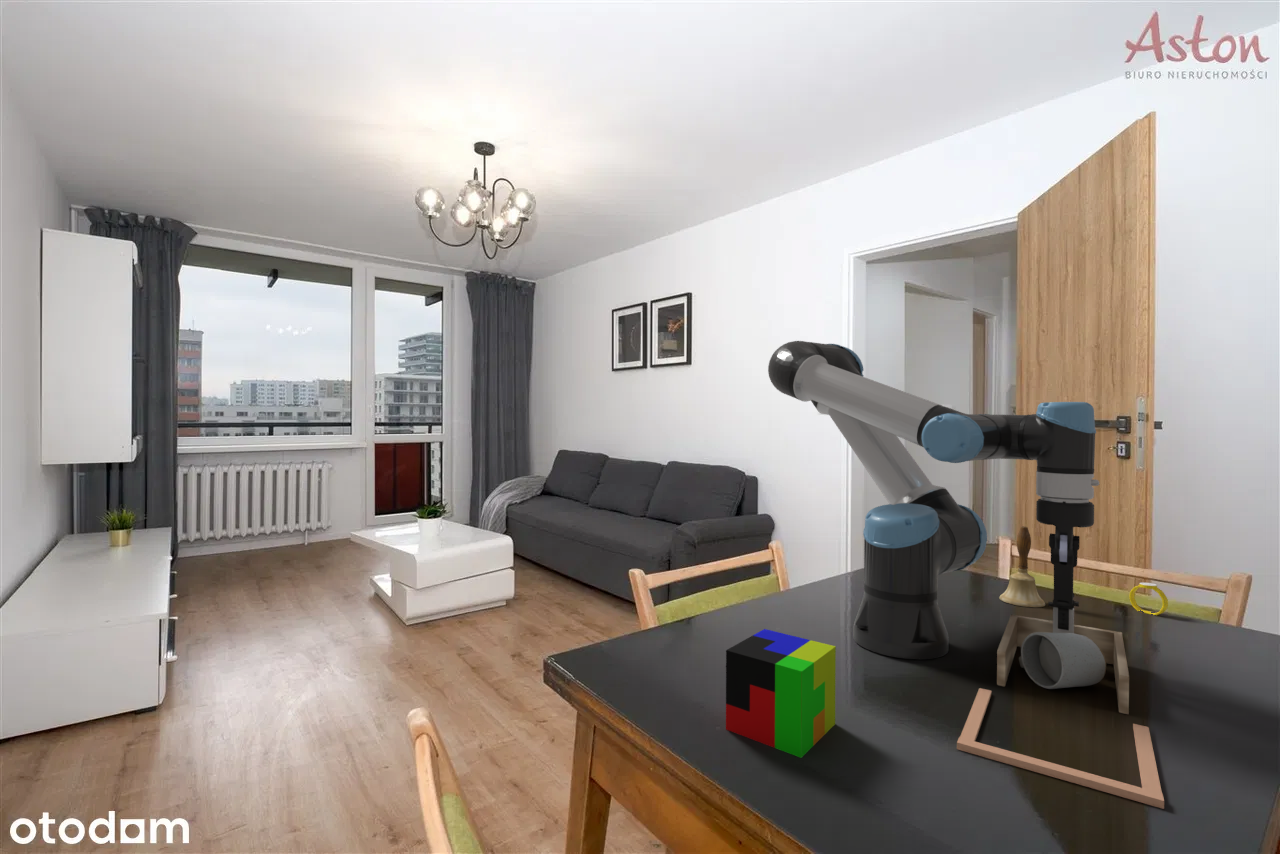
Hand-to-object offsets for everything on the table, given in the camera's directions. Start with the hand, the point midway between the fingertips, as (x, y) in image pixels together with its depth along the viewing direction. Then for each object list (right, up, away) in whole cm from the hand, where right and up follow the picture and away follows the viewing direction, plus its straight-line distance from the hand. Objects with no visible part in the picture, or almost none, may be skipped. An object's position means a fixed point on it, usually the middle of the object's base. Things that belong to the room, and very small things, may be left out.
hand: (1063, 647), depth 97 cm
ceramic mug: (-6, -3, -6) cm, 9 cm away
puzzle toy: (-49, -3, -20) cm, 53 cm away
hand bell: (+14, -2, +33) cm, 36 cm away
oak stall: (-3, -3, -4) cm, 6 cm away
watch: (+34, -2, +25) cm, 43 cm away
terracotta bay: (-17, -3, -23) cm, 29 cm away
